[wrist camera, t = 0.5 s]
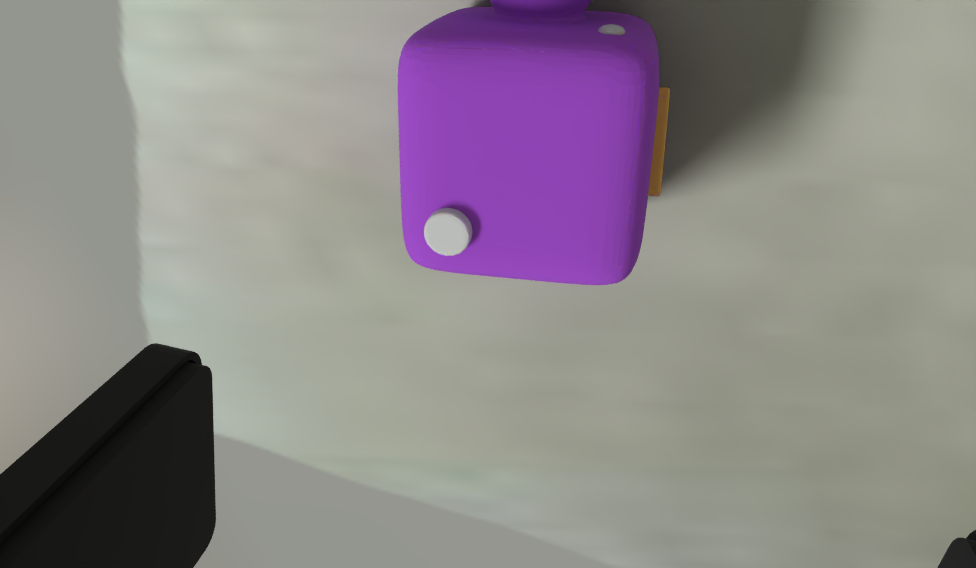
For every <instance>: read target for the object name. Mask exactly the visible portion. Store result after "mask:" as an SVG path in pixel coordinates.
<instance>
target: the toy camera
mask: <svg viewBox="0 0 976 568" xmlns="http://www.w3.org/2000/svg"><path fill="white" fill-rule="evenodd" d="M489 1H490V2H491V4H492V6H493V7H471V8H464V9H460V10H457V11H454V12H451V13H449V14H447V15H445V16H442V17H440V18H438V19H436V20H434V21H433V22H431V23H429V24H428V25H426V26H424V27H423V28H421V29H420V30H419V31H417V32H416V33H414V34H413V35H412V36H411V37H410V38H409V39H408V40H407V42H406V43H405V45H404V47H403V49H402V52H401V56H400V60H399V67H398V114H399V149H400V184H401V208H402V226H403V235H404V241H405V245H406V249H407V252H408V254H409V256H410V257H411V259H412V260H413V261H414V262H416V263H417V264H419V265H421V266H423V267H426V268H430V269H434V270H439V271H446V272H453V273H462V274H472V275H483V276H493V277H504V278H514V279H525V280H535V281H546V282H557V283H568V284H583V285H608V284H613V283H618V282H620V281H622V280H623V279H625V278H626V277H627V276H628V275H629V274H630V272H631V271H632V269H633V267H634V265H635V263H636V261H637V258H638V255H639V252H640V247H641V243H642V238H643V230H644V223H645V215H646V207H647V199H648V195H650V196H660V193H661V185H662V174H663V163H664V153H665V142H666V131H667V121H668V110H669V99H670V89H669V88H666V87H659V81H660V67H659V54H658V46H657V40H656V36H655V33H654V31H653V29H652V27H651V26H650V25H649V24H648V23H647V22H646V21H645V20H643V19H641V18H639V17H637V16H633V15H629V14H625V13H617V12H605V11H588V10H585V9H586V8H587V6H588V5H589V3H590V2H591V1H592V0H489Z"/></svg>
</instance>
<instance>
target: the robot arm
mask: <svg viewBox="0 0 976 568" xmlns="http://www.w3.org/2000/svg"><path fill="white" fill-rule="evenodd" d="M215 522H216V510H215V473H214V432H213V393H212V373H211V370H210V368H209V367H207V366H203V365H202V363H201V359H200V357H199V355H198V354H197V353H195V352H192V351H188V350H184V349H179V348H175V347H170V346H166V345H161V344H157V343H155V344H150V345H149V346H147V347H145V348H144V349H143V350H142V351H141V352H140V353H139V354H137V355H136V356H135V357H134V358H133V359H132V360H131V361H129V362H128V363H127V364H126V365H125V366H124V367H123V368H122V369H120V370H119V371H118V372H117V373H116V374H115V375H113V376H112V377H111V378H110V379H109V380H108V381H107V382H105V383H104V384H103V385H102V386H101V387H100V388H99V389H98V390H96V391H95V392H94V393H93V394H92V395H91V396H89V398H87V399H86V400H85V401H84V402H83V403H82V404H80V405H79V406H78V407H77V408H76V409H75V410H73V411H72V412H71V413H70V414H69V415H68V416H67V417H65V418H64V419H63V420H62V421H61V422H60V423H59V424H58V425H56V426H55V427H54V428H53V429H52V430H51V431H49V432H48V433H47V434H46V435H45V436H44V437H43V438H41V439H40V440H39V441H38V442H37V443H36V444H35V445H33V446H32V447H31V448H30V449H29V450H28V451H27V452H25V453H24V454H23V455H22V456H21V457H20V458H19V459H17V460H16V461H15V462H14V463H13V464H12V465H11V466H9V467H8V468H7V469H6V470H5V471H4V472H3V473H2V474H0V568H193V567H194V566H195V564H196V563H197V562H198V560H199V559H200V557H201V555H202V554H203V553H204V551H205V550H206V548H207V547H208V545H209V543H210V540H211V538H212V535H213V532H214V528H215ZM938 568H976V530H975V531H973V532H972V533H970V534H969V535H968V537H967V538H966V539H965V538H957V539H955V540H954V541H953V542H952V543H951V544H950V546H949V548H948V550H947V551H946V553H945V555H944V557H943V559H942V560H941V562H940V564H939V566H938Z"/></svg>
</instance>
